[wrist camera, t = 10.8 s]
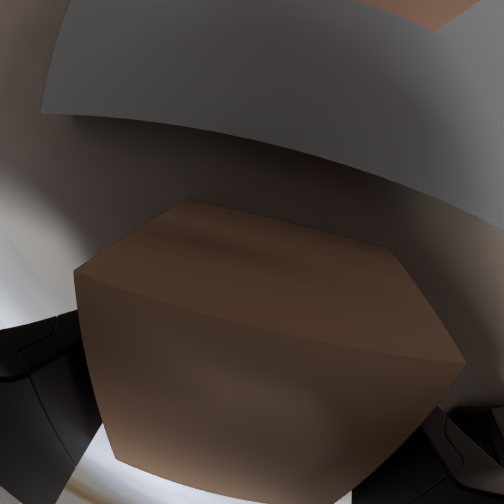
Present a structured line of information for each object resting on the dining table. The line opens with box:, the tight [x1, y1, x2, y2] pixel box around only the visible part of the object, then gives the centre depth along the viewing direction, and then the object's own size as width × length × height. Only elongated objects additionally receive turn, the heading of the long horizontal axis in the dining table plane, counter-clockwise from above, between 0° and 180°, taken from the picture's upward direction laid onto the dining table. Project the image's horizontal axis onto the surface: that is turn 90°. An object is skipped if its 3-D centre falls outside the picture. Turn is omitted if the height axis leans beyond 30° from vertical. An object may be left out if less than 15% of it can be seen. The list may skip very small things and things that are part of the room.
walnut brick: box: [73, 200, 467, 504], centre depth 7 cm, size 6×6×5 cm
